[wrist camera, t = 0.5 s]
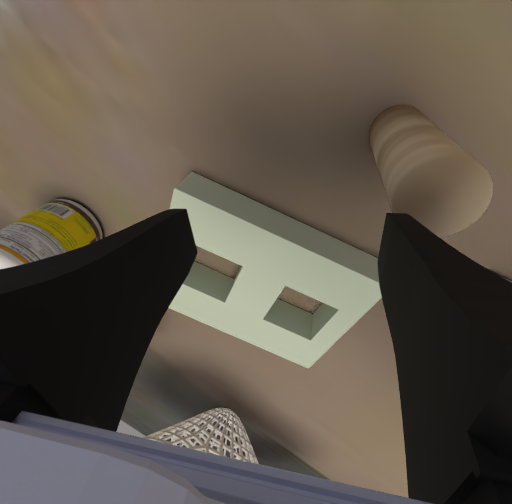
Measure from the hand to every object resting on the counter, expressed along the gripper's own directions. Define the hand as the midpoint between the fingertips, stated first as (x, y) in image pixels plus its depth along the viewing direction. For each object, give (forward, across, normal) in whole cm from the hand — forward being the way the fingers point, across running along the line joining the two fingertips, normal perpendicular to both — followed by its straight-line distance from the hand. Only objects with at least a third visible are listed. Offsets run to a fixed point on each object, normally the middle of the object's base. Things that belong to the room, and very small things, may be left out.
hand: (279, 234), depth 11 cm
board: (+10, +4, +10) cm, 15 cm away
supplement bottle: (+10, +21, +6) cm, 24 cm away
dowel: (+10, -5, -1) cm, 12 cm away
